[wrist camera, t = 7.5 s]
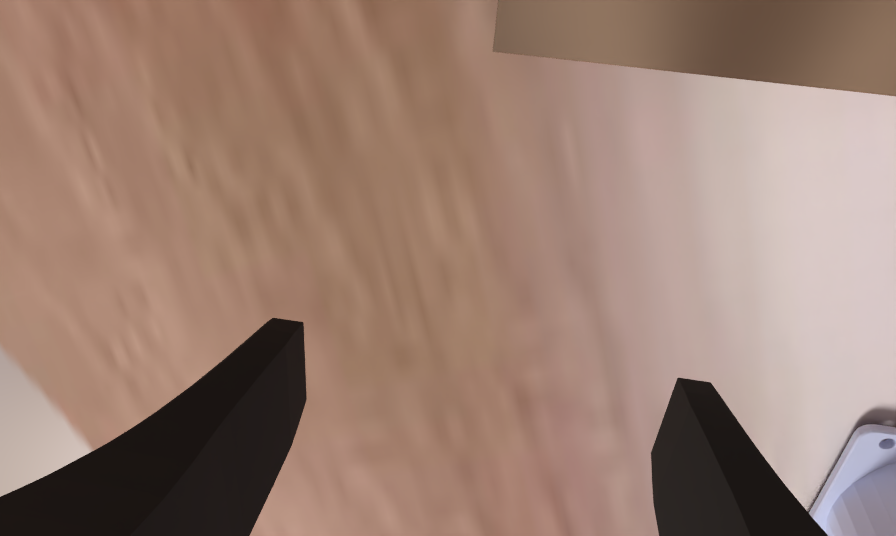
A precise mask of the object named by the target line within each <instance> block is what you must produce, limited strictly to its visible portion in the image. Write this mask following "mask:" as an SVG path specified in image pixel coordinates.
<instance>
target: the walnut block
mask: <svg viewBox="0 0 896 536" xmlns="http://www.w3.org/2000/svg"><path fill="white" fill-rule="evenodd" d="M493 52H501V53H510V54H520V55H529V56H538V57H547V58H556V59H565V60H574V61H583V62H592V63H601V64H610V65H619V66H628V67H637V68H646V69H655V70H664V71H673V72H682V73H691V74H700V75H709V76H718V77H727V78H736V79H745V80H754V81H763V82H772V83H781V84H790V85H799V86H808V87H817V88H826V89H835V90H844V91H853V92H862V93H871V94H880V95H889V96H896V0H498V8H497V17H496V26H495V35H494V45H493Z"/></svg>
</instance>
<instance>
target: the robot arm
mask: <svg viewBox="0 0 896 536" xmlns="http://www.w3.org/2000/svg"><path fill="white" fill-rule="evenodd" d="M305 402H306V376H305V351H304V326H303V322H298V321H291V320H284V319H277V318H272V319H271V320H269V321H268V322H267V323H266V324H264V325H263V326H262V327H261V328H260V329H259V330H257V331H256V332H255V333H254V334H253V335H252V336H251V337H249V338H248V339H247V340H246V341H245V342H244V343H243V344H241V345H240V346H239V347H238V348H237V349H236V350H234V351H233V352H232V353H231V354H230V355H229V356H227V357H226V358H225V359H224V360H223V361H222V362H220V363H219V364H218V365H217V366H215V367H214V368H213V369H212V370H210V371H209V372H208V373H207V374H206V375H204V376H203V377H202V378H201V379H199V380H198V381H197V382H196V383H194V384H193V385H192V386H191V387H189V388H188V389H187V390H185V391H184V392H183V393H181V394H180V395H178V396H177V397H176V398H174V399H173V400H172V401H170V402H169V403H168V404H166V405H165V406H163V407H162V408H161V409H159V410H158V411H157V412H155V413H154V414H152V415H151V416H149V417H148V418H146V419H145V420H143V421H142V422H141V423H139V424H137V425H136V426H134V427H133V428H131V429H130V430H128V431H127V432H125V433H123V434H122V435H120V436H118V437H117V438H115V439H114V440H112V441H110V442H109V443H107V444H105V445H103V446H102V447H100V448H98V449H96V450H94V451H93V452H91V453H89V454H87V455H85V456H83V457H81V458H79V459H78V460H76V461H74V462H72V463H70V464H68V465H66V466H64V467H63V468H61V469H59V470H57V471H55V472H53V473H51V474H49V475H47V476H45V477H43V478H41V479H39V480H36V481H34V482H32V483H30V484H28V485H26V486H24V487H22V488H19V489H17V490H15V491H12V492H10V493H8V494H6V495H3V496H1V497H0V536H249V535H250V533H251V531H252V529H253V527H254V525H255V523H256V521H257V518H258V516H259V514H260V512H261V510H262V508H263V506H264V504H265V502H266V499H267V497H268V495H269V493H270V491H271V489H272V487H273V485H274V482H275V480H276V478H277V476H278V474H279V472H280V470H281V467H282V465H283V463H284V461H285V459H286V457H287V454H288V452H289V450H290V448H291V446H292V443H293V440H294V437H295V434H296V431H297V428H298V425H299V422H300V418H301V415H302V412H303V409H304V406H305ZM884 439H887V440H884ZM882 440H884V441H882ZM651 461H652V484H653V500H654V508H655V514H656V520H657V525H658V531H659V536H896V427H890V426H883V425H876V424H867V425H863V426H861V427H859V428H857V429H856V431H855V432H854V433H853V435H852V437H851V439H850V440H849V442H848V444H847V446H846V448H845V449H844V451H843V453H842V455H841V457H840V458H839V460H838V462H837V464H836V465H835V467H834V469H833V471H832V473H831V474H830V476H829V478H828V480H827V482H826V483H825V485H824V487H823V489H822V491H821V492H820V494H819V496H818V498H817V499H816V501H815V503H814V505H813V507H812V508H811V510H810V512H809V513H808V512H807V511H806V510H805V508H804V507H803V506H802V505H801V504H800V502H799V501H798V500H797V499H796V498H795V497H794V495H793V494H792V493H791V492H790V491H789V489H788V488H787V487H786V486H785V484H784V483H783V482H782V481H781V479H780V478H779V477H778V475H777V474H776V473H775V471H774V470H773V469H772V467H771V466H770V465H769V463H768V462H767V461H766V460H765V458H764V457H763V456H762V454H761V453H760V452H759V450H758V449H757V447H756V446H755V445H754V443H753V442H752V441H751V439H750V438H749V436H748V435H747V433H746V432H745V431H744V429H743V428H742V426H741V425H740V424H739V422H738V421H737V419H736V418H735V416H734V415H733V414H732V412H731V411H730V409H729V408H728V406H727V405H726V403H725V402H724V401H723V399H722V398H721V396H720V395H719V394H718V392H717V391H716V389H715V388H714V386H713V385H712V384H711V383H710V382H704V381H697V380H690V379H683V378H677V381H676V384H675V387H674V390H673V393H672V395H671V398H670V401H669V404H668V407H667V409H666V412H665V415H664V418H663V421H662V424H661V426H660V429H659V432H658V435H657V438H656V441H655V443H654V446H653V449H652V452H651Z"/></svg>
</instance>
